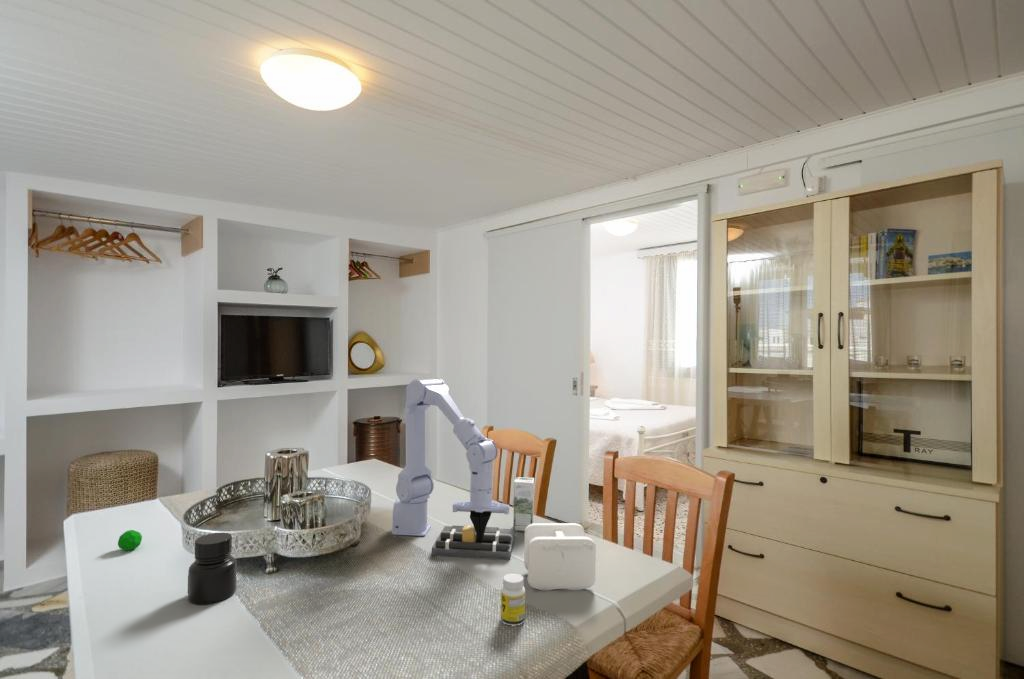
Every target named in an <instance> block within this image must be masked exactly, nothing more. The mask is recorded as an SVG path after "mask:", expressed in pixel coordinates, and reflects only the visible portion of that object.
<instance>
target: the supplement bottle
mask: <svg viewBox="0 0 1024 679" xmlns="http://www.w3.org/2000/svg"><path fill="white" fill-rule="evenodd" d="M524 582H525V581H524V576H523V575H521V574H518V573H507V574H505V575H503V579H502V587H501V590H500V593H501V594H500V620H501V623H502V622H503V623H505V624H508V625H518V624H521V623H523V622H524V623H525V621H526V620H525V619H526V588H525V586H524V585H525V584H524ZM524 620H525V621H524ZM503 623H502V624H503ZM524 623H523V624H524ZM505 624H504V625H505ZM521 625H522V624H521Z"/></svg>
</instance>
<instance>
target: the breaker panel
mask: <svg viewBox="0 0 1024 679" xmlns="http://www.w3.org/2000/svg"><path fill="white" fill-rule="evenodd" d="M463 527H464V525H452V526H451V525H444V527H443V528H442V530H441V531H440V534H438V537H437V538H436V540H435V541H434V543H433V545H432V547H431V556H432V557H447V558H448V557H449V558H469V559H485V560H487V559H488V560H505V561H507V560H509V561H511V557H512V552H513V548H514V543H515V539H516V538H515V537H516V531H515V529H513V528H499V527H497V526H494V527H493V526H491V527H490V526H486V529H485V532H484V533H496V532H497V531H500V534H510V535H511V536H512V540H511V541H510V542H498V543H497V544H508V545H509V546H510V549H509V550H508V551H498V550H496V552H493V550H478V549H457V548H449V549H448V550H447V549H445V548H437V547H436V546H435V545H436V541H446V540H447V539H441V538H440V536H441V533H442V531H452V529H456V532H462V529H463ZM453 542H462V540H453ZM493 542H494V541H483V542H478V541H475V543H493Z"/></svg>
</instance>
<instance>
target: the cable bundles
mask: <svg viewBox="0 0 1024 679" xmlns="http://www.w3.org/2000/svg"><path fill="white" fill-rule="evenodd" d="M441 532H442V533H441ZM441 532H440V533H441V536H440V538H441V539H447V540H446V541H436V540H435V542H436V545H435V546H436V547H437V548H445V549H447V550H448V549H449V548H457V549H478V550H493V552H496V550H498V551H508V550H509V549H510V546H509V545H508V544H497V543H498V542H510V541H511V540H512V536H511V535H510V534H500V531H497V532H496V533H484V539H483V541H494V542H493V543H474V542H453V540H462V532H456V529H452V531H442V530H441ZM475 541H477V535H476V539H475Z"/></svg>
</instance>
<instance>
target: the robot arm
mask: <svg viewBox="0 0 1024 679" xmlns="http://www.w3.org/2000/svg"><path fill="white" fill-rule="evenodd" d="M449 391H450V390H449V386H448V385H447V384H446V382H445V381H444V379H442V378H439V377H436V378H426V379H425V378H424V379H413V380H412V381H411V382H410V383H408V384H407V386H406V394H405V395H406V397H405V398H406V401H405V466H404V467H403V468H402V470H401V471H400V472H399V473H398V475H397V478H398V479H397V483H396V484H395V485H396V486H395V493H396V495H397V499H395V501H394V502H393V507H392V531H391V535H399V536H414V537H415V536H416V537H417V536H419V537H424V536H425V535H427V533H428V532H429V531H430V528H431V527H432V525H431V524H428V500H429V499H430V495H431V494H432V493H433V491H434V484H435V483H434V481H433V477H432V476H433V475H432V470H431V469H430V468H429V467H428V466H427V465H426V420H425V418H426V414H425V413H426V410H427V409H429V407H430V406H435V407H437V408H438V409H439V410H440V411H441V412H442V413H443V415H444V416H445V418H447V420H448V421H449V422H450V423H451V424H452V425H453V429H452V430H453V434H454V435H455V437H456V438H457V439H458V440H459V442H460V443H461V445H462V446H463V447H464V449H465V450H466V452H465V456H466V460H467V461H468V465H469V466H468V468H469V471H470V489H469V490H470V492H469V497H470V498H469V501H463V502H461V501H460V502H456V501H455V502H453V504H452V513H457V512H460V513H463V512H465V513H470V514H469V519H470V521H471V522H472V526H474V528H475V531H476V535H477V541H478V542H483V539H484V532H485V529H486V527H487V525H488V523H489V521H490V519H491V516H492V514H504V515H509V514H510V504H505V503H504V504H503V503H497V502H493V487H494V486H493V482H494V481H493V480H494V479H493V475H494V461H495V460H496V458H497V457H498V446H497V445H496V443H495V441H494V440H493V439H490V438H487V437H486V436H485V435H484V434H482V432H481V431H480V429H479V428H478V427H477V426H476V422H475V421H474V420H473V419H471V418H469V417H468V418H467V417H464V415H463V414H462V412H461V411H460V409H459V407H458V406H457V404H456V403H455V401H454V400H453V397H452V396H451V395H450V393H449Z"/></svg>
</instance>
